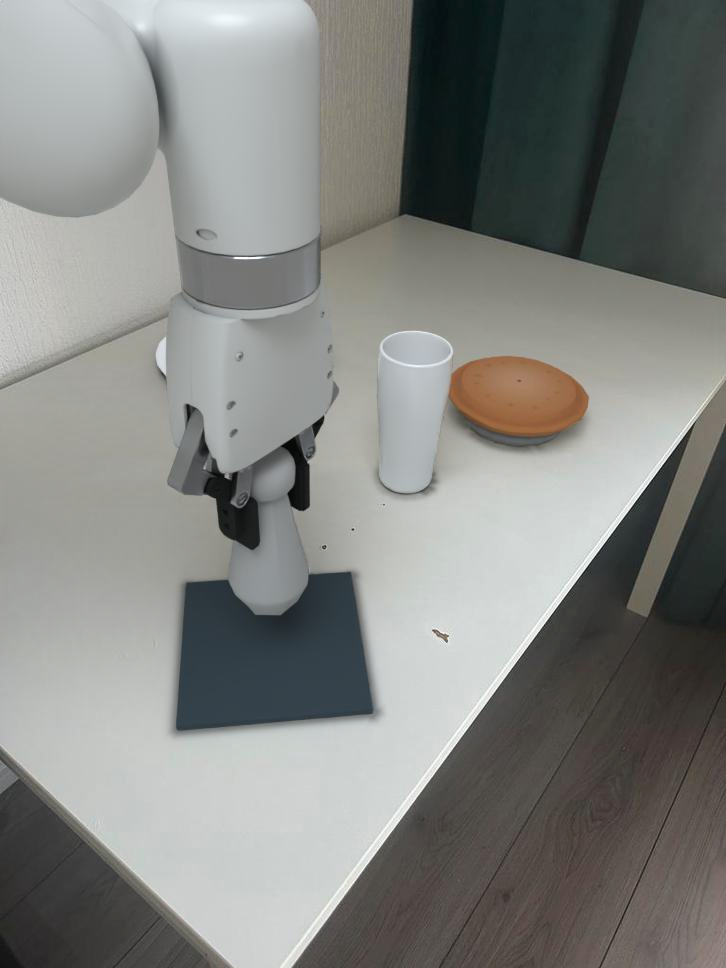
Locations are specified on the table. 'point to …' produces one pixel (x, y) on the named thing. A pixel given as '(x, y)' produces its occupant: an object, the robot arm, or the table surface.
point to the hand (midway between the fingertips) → (265, 517)
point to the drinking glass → (411, 406)
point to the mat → (271, 657)
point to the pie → (517, 399)
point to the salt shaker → (271, 542)
